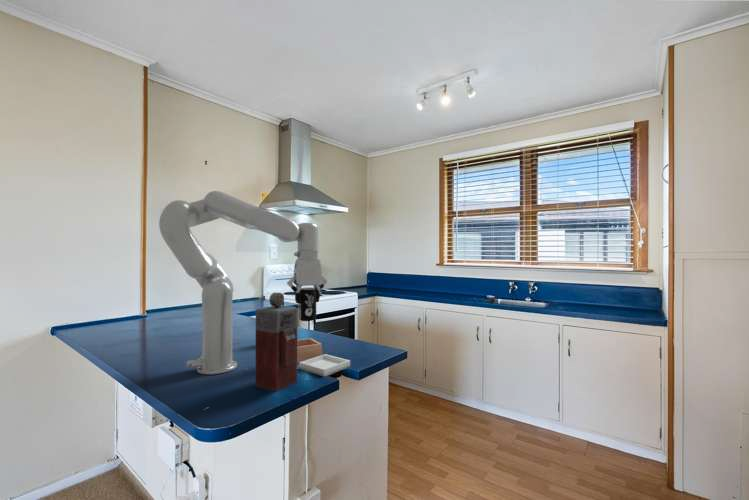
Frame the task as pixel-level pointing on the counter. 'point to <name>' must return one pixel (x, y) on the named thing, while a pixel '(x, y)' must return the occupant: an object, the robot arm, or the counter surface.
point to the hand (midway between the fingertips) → (307, 302)
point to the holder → (308, 349)
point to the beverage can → (307, 304)
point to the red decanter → (276, 345)
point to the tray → (324, 365)
